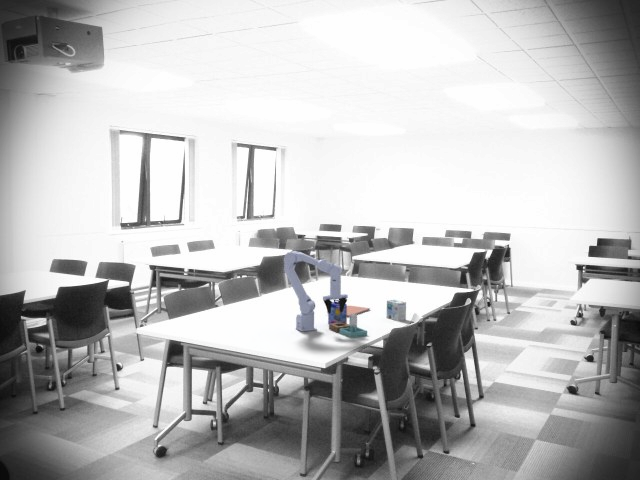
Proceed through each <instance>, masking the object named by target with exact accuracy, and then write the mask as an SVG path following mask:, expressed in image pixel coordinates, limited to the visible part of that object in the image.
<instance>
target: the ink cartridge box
mask: <svg viewBox="0 0 640 480" xmlns="http://www.w3.org/2000/svg"><path fill="white" fill-rule="evenodd" d="M347 306H348V305H347V303H345V306H344V309H343V312H340V305H339V299H332V304H331V313H327V315H328V316H327V317H328V318H327V319H328V320H327V321H328V323H327V324H328V325H329V324H333V323H341V322H343V323H346V324H348V322H347V321H348V320H347V319H348V317H347Z"/></svg>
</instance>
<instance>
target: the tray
mask: <svg viewBox="0 0 640 480" xmlns="http://www.w3.org/2000/svg"><path fill="white" fill-rule="evenodd" d="M339 335H342V336H344V335H345V337H348V338H350V339H353V338H360V337H365V336H368V330H366V329H365V328H364V329H363V328H361V327H358V326H357V332H352V333H351V332H349V328H342V329H340V333H339ZM352 337H353V338H352Z"/></svg>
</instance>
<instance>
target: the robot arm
mask: <svg viewBox="0 0 640 480" xmlns="http://www.w3.org/2000/svg"><path fill="white" fill-rule="evenodd" d="M299 262H304V263H306V264H307V263H308V264H310V265H313V266H316V268H317V270H319V271H321V272H324V273H326V274H329V275H330V279H329V281H330V282H329V283H330V284H329V286H330V287H329V295H323V296H322V300H323V302H324V304H325V307H326V312H328V313H331V304H332V302H333V299H334V300H339V305H340V312H343V309H344V306H345V304H347V302H348V298H349V297H348V294H346V293H344V294H342V293H341V292H342V291H341V289H342V287H341V286H342V285H341V284H342V276H341V274H342V272H343V268H342V267H341V266H340V265H339V264H335V263H333V262H330V261H327V259H325V258H324V259H320V260H319V259H317V258H315V257H312V256H310V255H307V254H306V253H303V252H301V251H298V250H292V251H289V252H286V254H285V255H284V257H283V271H284V273H285V275H286V276H287V279H288V281H289V283H290V284H291V287H292V289H293V291H294V292H295V295H296V297H297V299H298V306H299V310H300V313H299V314H296V318H295V322H296V323H295V325H296V327H295V329H296V330H298V331H300V332H311V331H317V330H318V329H317V328H316V327H315V311H314V310H315V308H316V303H315V301H314V300H312V299H311V297H310V296H309V295H308V293H307V292H306V290H305V288H304V286H303V283H302V282H301V280H300V278H299V276H298V274H297V272H296V270H295V268H296V267H297V264H298V263H299ZM328 313H327V314H328Z"/></svg>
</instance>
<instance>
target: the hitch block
mask: <svg viewBox="0 0 640 480" xmlns="http://www.w3.org/2000/svg"><path fill="white" fill-rule="evenodd" d="M342 328H349V323H347V324H346V323H343V322H341V323H333V324H328V329H329V330H330V331H333V332H335V333H336V334H340V329H342Z"/></svg>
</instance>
